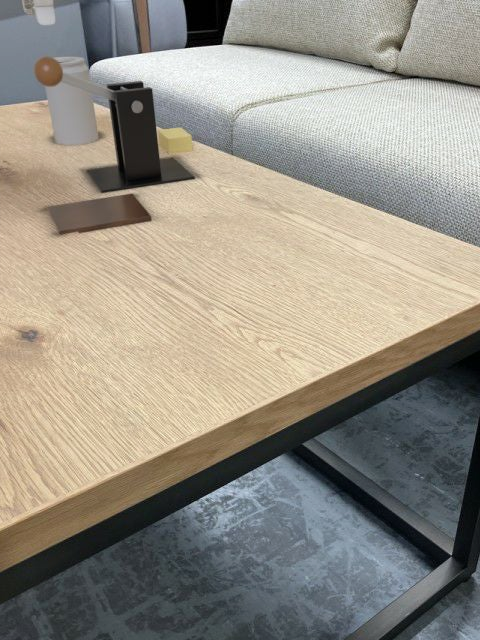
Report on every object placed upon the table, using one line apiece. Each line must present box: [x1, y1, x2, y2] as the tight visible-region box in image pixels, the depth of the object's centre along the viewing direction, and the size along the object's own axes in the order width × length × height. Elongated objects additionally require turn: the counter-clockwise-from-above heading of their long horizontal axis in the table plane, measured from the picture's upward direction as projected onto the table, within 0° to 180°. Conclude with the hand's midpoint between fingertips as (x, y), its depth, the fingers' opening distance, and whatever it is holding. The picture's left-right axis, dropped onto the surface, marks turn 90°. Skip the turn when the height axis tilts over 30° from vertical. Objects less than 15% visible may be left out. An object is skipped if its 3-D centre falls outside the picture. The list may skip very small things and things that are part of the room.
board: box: [46, 193, 152, 235], centre depth 79 cm, size 10×8×2 cm
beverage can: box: [44, 56, 100, 146], centre depth 102 cm, size 6×6×12 cm
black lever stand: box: [85, 80, 195, 194], centre depth 88 cm, size 12×9×12 cm
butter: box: [157, 126, 194, 155], centre depth 101 cm, size 4×5×3 cm
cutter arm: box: [33, 56, 127, 106], centre depth 83 cm, size 13×3×3 cm, turn 115°
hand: (39, 19), depth 77 cm, fingers open, 8 cm apart
